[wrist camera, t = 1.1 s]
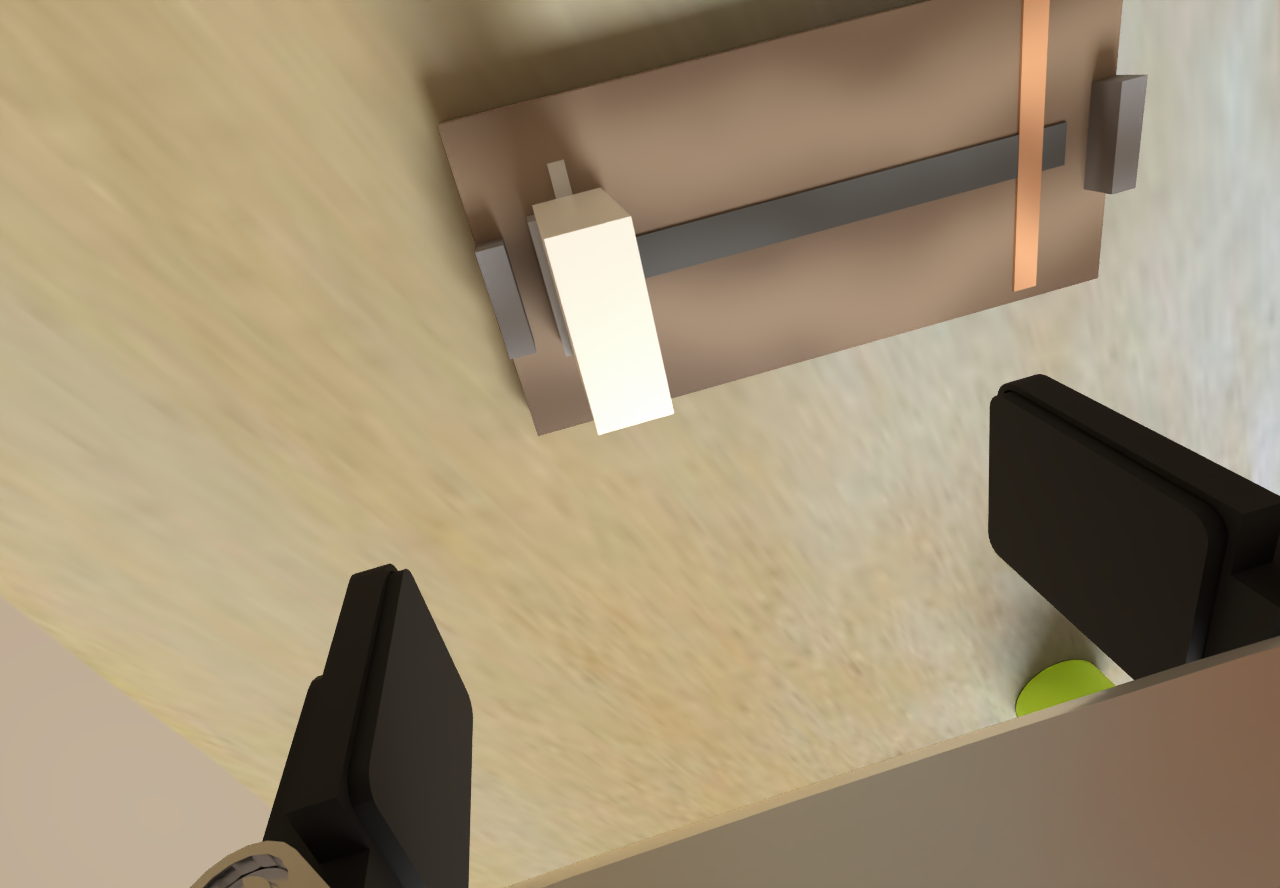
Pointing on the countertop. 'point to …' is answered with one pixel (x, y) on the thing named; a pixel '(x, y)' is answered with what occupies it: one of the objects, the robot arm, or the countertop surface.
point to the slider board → (816, 184)
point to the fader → (602, 306)
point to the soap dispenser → (1061, 686)
